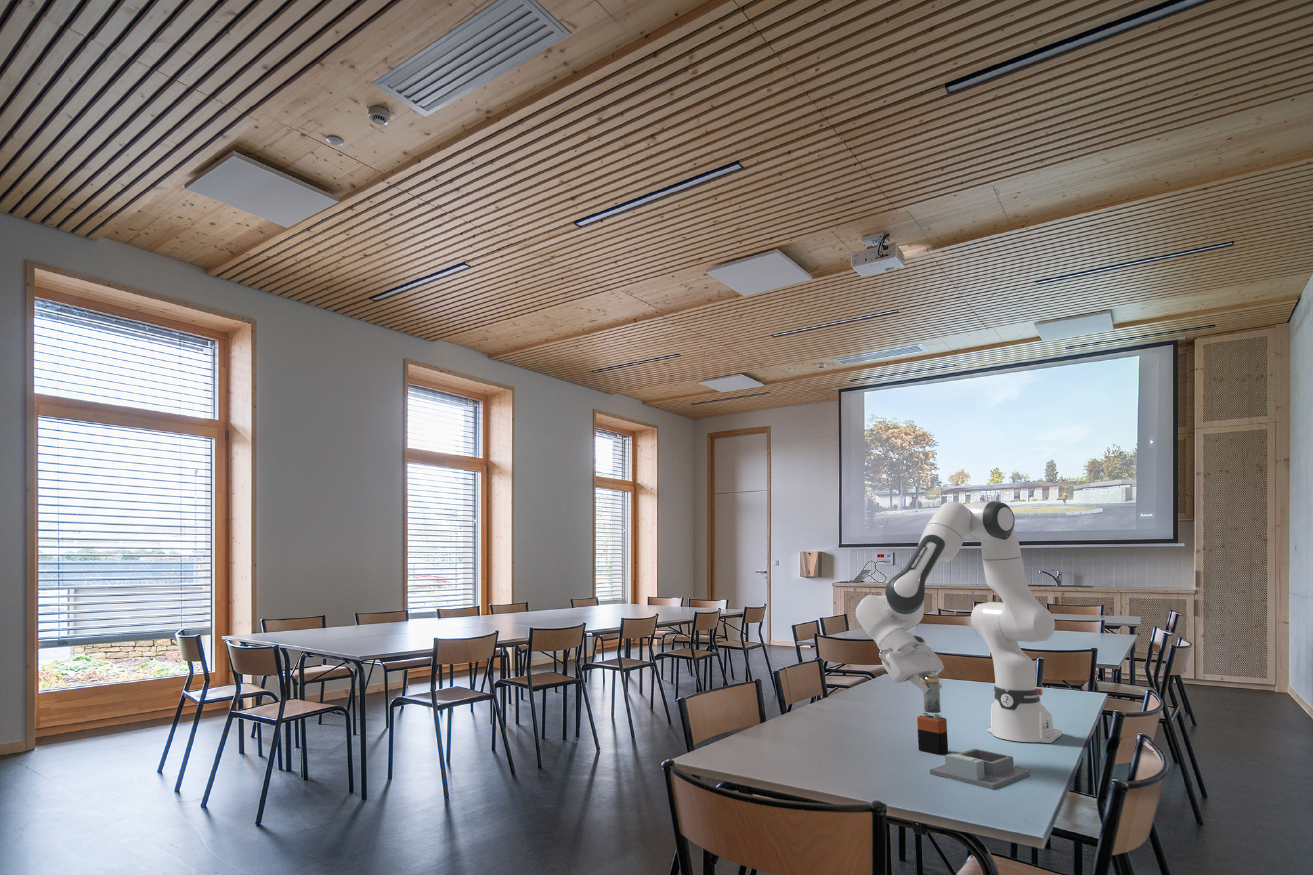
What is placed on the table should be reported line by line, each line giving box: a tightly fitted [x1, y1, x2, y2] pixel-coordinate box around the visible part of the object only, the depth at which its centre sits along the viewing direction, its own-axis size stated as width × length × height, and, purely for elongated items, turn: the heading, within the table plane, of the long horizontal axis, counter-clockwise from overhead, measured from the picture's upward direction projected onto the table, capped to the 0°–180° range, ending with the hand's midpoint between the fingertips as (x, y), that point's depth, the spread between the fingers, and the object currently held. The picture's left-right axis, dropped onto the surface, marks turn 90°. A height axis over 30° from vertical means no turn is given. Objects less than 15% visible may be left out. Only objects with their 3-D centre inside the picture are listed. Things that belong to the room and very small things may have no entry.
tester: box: [929, 748, 1030, 790], centre depth 187 cm, size 18×16×5 cm
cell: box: [921, 674, 942, 714], centre depth 197 cm, size 4×4×9 cm
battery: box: [916, 712, 949, 755], centre depth 209 cm, size 4×7×10 cm, turn 42°
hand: (933, 690), depth 197 cm, fingers closed on cell, 4 cm apart
